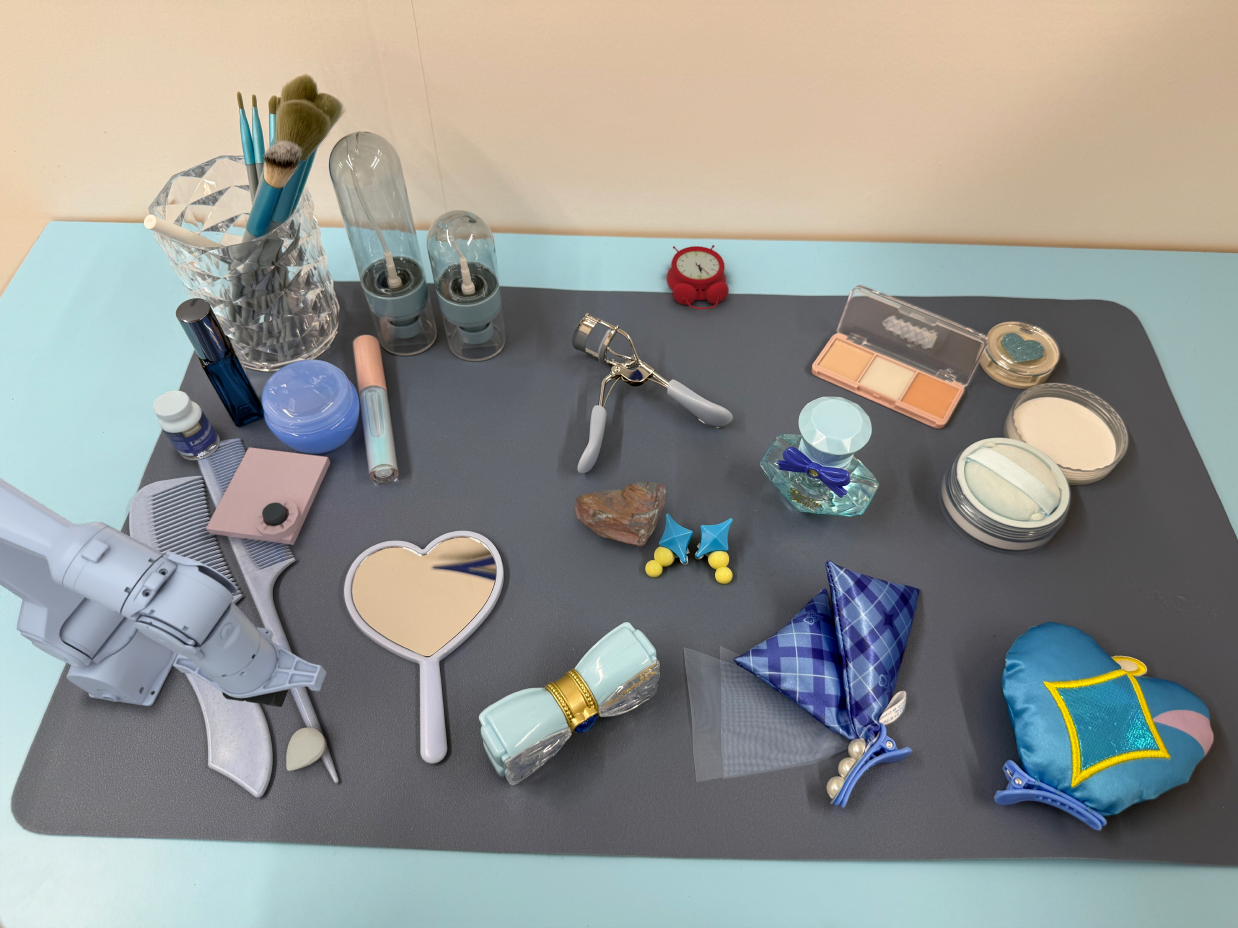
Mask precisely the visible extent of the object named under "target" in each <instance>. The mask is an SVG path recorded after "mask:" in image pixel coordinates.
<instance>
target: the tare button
mask: <svg viewBox="0 0 1238 928" xmlns="http://www.w3.org/2000/svg"><path fill="white" fill-rule="evenodd" d="M262 516H263V517H264V519H265V520H266V522H267V523H268V524H269V525H272V526H276V525H280V524H282V523H283V522H284V521H285V520H286V518H287V511H286V510H285V508H284V507H283V505H282V504H280V503H277V502H274V503H270V504H268V505H267V506H266V507H265V508H264V509H263V511H262Z"/></svg>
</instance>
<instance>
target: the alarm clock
mask: <svg viewBox="0 0 1238 928" xmlns="http://www.w3.org/2000/svg"><path fill="white" fill-rule="evenodd" d="M713 248H715V245H714V244H712V245H711V248H709V247H706V246H700V245H697V246H696V245H695V246H694V245H693V246H687V247H685V248H682V249H680V250H679V249H677V248H676V246H675V245H673V246H672V249H674V250H675V251H676V253H675V254H674V255H673V257H672V258H671V262H670V264H671V265H670V267H669V268H668V271H667V273H666V284H667V286H668V287H669V288H670V290H671V291H672V297H673V299H674V301H675V302H676V303H677V304H680V305H682V306H689V307H690V308H692V309H695V310H709V309H713V308H715V307H717V305H718V304H720V303H721V302H723V301H724V300H726V298H727V296H728V295H729V286H728V284H727V283H726V282H727V278H726V274H725V269H726V267H725V261H724V259H723V257H722V256H721V255H720V254H719V253H718V252H717V251H715V250H714V249H713ZM705 300H706V301H707V302H708V303H709V304H711V306H708V307H707V306H706V307H697V306H693V305H692V304H694V303H695V301H705ZM712 304H713V305H712Z"/></svg>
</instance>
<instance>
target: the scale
mask: <svg viewBox="0 0 1238 928" xmlns="http://www.w3.org/2000/svg"><path fill="white" fill-rule="evenodd" d="M330 465H331V461H330V458H329V457H328V456H323V455H322V456H321V455H314V454H307V453H297V452H291V451H290V452H288V451H282V450H273V449H265V448H258V447H250V446H249V447H248V448H247V450H246V452H245V454H244V456H243V458H242V460H241V462H240V463H239V465H238V467H237V469H236V470H235V473H234V475H233V476H232V479H230V482H229V484H228V486H227V487H226V490H225V491H224V493H223V495H222V497H221V499H220V501H219V503H218V505H217V507H216V508H215V511H214V512H213V514H212V516H211V518H210V519H209V521H208V523H207V526H206V527H205V530H206V531H207V532H208V533H209V534H211V535H215V536H216V535H217V536H225V537H231V538H239V539H240V538H241V539H246V540H247V539H248V540H255V541H261V542H269V543H277V544H284V545H291V546H293V545H295V543H296V541H297V538H298V536H299V534H300V532H301V529H302V527H303V526H304V523H305V521H306V519H307V516H308V514H309V512H310V509H311V507H312V505H313V503H314V501H315V498H316V496H317V494H318V491H319V489H320V487H321V486H322V483H323V480H324V479H325V476H326V474H327V471H328V469H329V467H330ZM274 502H277V503H280V504H282V505H283V507H284V508H285V510H286V511H287V518H286V520H285V521H284V522H283V523H282V524H280V525H276V526H272V525H269V524H268V523H267V522H266V520H265V519H264V517H263V516H262V511H263V509H264V508H265V507H266V506H267V505H268V504H270V503H274Z"/></svg>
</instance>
